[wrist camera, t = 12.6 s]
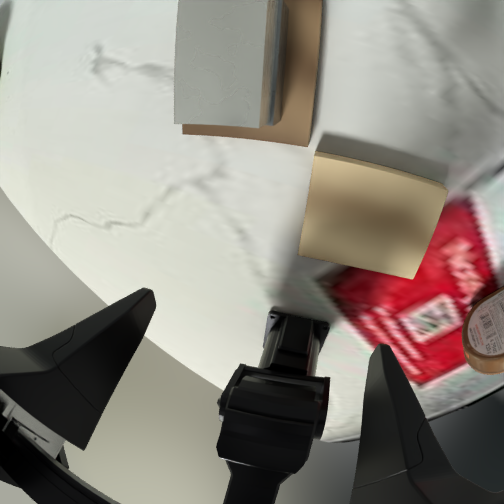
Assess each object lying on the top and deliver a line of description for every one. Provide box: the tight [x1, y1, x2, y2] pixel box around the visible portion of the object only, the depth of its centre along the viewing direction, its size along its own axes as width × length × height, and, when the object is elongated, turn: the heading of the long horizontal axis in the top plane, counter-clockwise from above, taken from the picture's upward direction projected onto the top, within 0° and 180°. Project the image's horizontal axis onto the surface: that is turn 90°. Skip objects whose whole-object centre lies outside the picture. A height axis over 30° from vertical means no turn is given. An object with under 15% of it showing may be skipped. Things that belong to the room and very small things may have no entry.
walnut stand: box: [182, 0, 323, 147], centre depth 15 cm, size 11×9×2 cm
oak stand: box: [298, 151, 448, 279], centre depth 19 cm, size 8×10×2 cm
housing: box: [174, 0, 289, 128], centre depth 12 cm, size 5×8×5 cm, turn 177°
